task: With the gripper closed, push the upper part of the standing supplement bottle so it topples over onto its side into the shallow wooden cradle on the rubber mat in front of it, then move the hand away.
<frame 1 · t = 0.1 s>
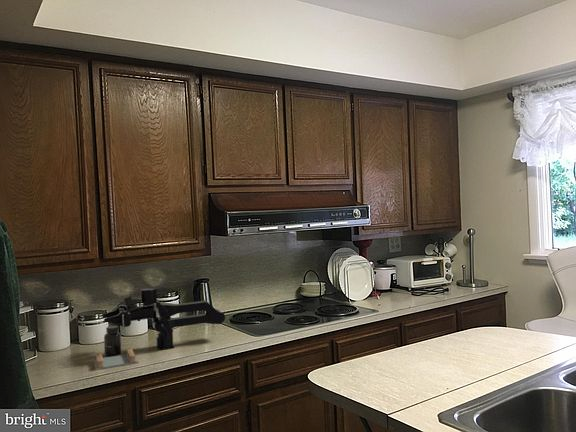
hand: (103, 317, 200), 17 cm above the counter, tool horizontal, fingers open, 9 cm apart
supplement bottle: (113, 355, 202), on the counter
cradle rails: (115, 357, 192), on the rubber mat, point 1 cm above the counter
rubber mat: (115, 361, 192), on the counter
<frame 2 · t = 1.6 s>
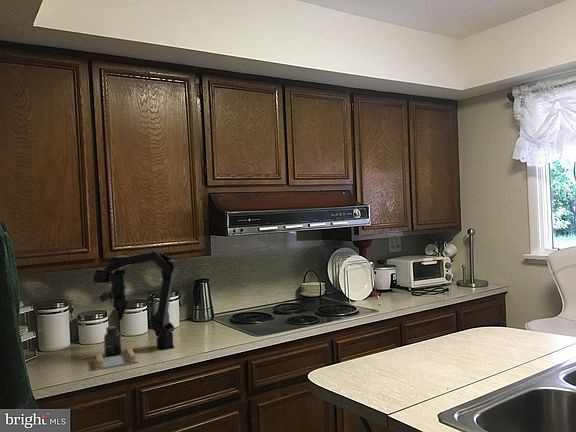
hand: (119, 318, 214), 13 cm above the counter, tool pointing down, fingers open, 8 cm apart
nothing on the counter moved.
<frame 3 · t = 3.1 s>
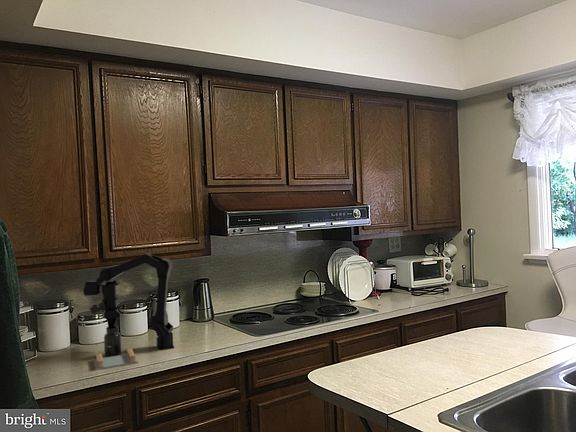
hand: (110, 330, 210), 9 cm above the counter, tool pointing down, fingers closed
nothing on the counter moved.
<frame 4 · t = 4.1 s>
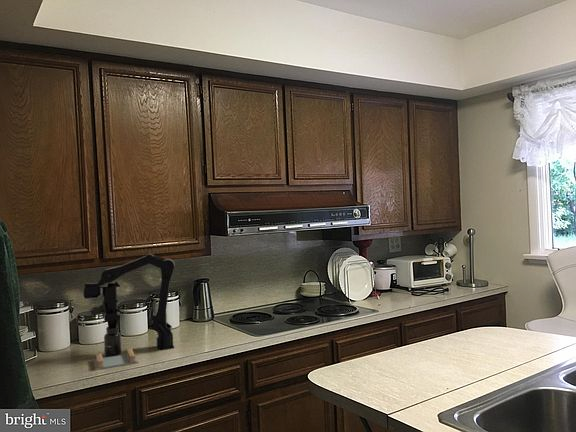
hand: (111, 332, 206), 9 cm above the counter, tool pointing down, fingers closed
supplement bottle: (113, 355, 202), on the counter, touching gripper
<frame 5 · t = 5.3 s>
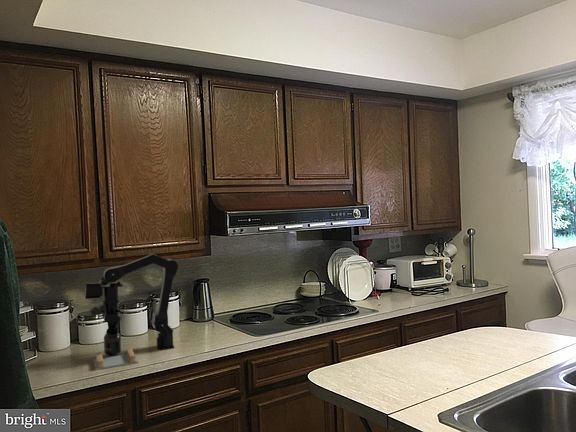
hand: (111, 333, 201), 9 cm above the counter, tool pointing down, fingers closed
supplement bottle: (112, 351, 202), point 2 cm above the counter
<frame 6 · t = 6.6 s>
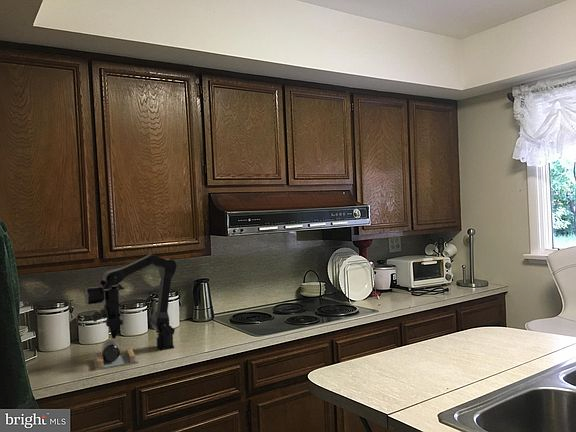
hand: (113, 338, 197), 9 cm above the counter, tool pointing down, fingers closed
supplement bottle: (110, 347, 199), point 4 cm above the counter, touching rubber mat
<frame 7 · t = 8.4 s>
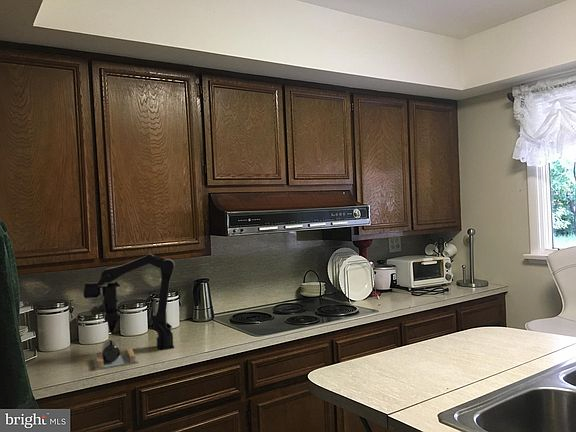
hand: (111, 332, 206), 9 cm above the counter, tool pointing down, fingers closed
nothing on the counter moved.
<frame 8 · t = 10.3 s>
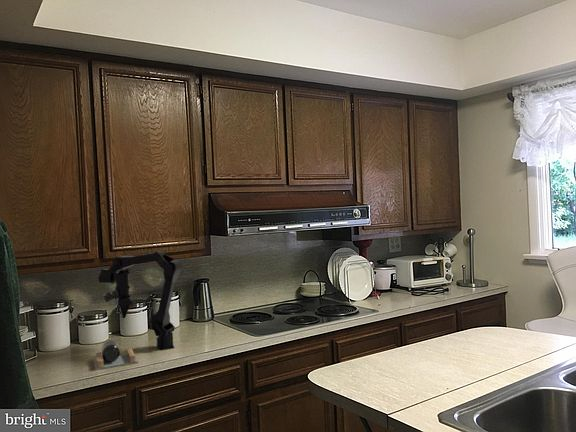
hand: (123, 317, 215), 13 cm above the counter, tool pointing down, fingers closed
nothing on the counter moved.
at the end: supplement bottle tilted 91°; supplement bottle inside the target area (6.2 cm from its centre), point 4.1 cm above the counter; the gripper is holding nothing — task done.
